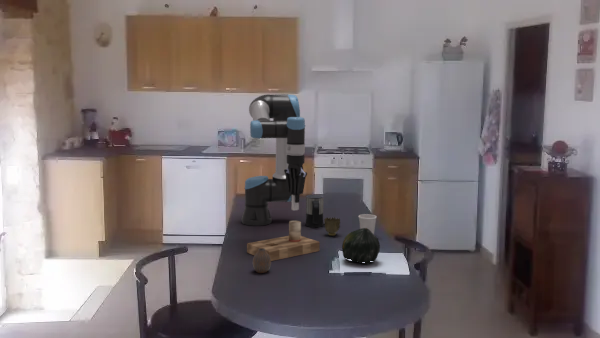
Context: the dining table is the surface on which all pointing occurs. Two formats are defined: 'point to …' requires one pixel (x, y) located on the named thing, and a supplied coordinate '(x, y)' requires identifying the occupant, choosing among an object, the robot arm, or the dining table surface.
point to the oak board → (284, 247)
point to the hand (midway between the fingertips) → (295, 209)
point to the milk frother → (314, 210)
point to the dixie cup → (367, 221)
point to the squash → (361, 246)
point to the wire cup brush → (332, 225)
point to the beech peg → (294, 231)
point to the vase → (261, 261)
